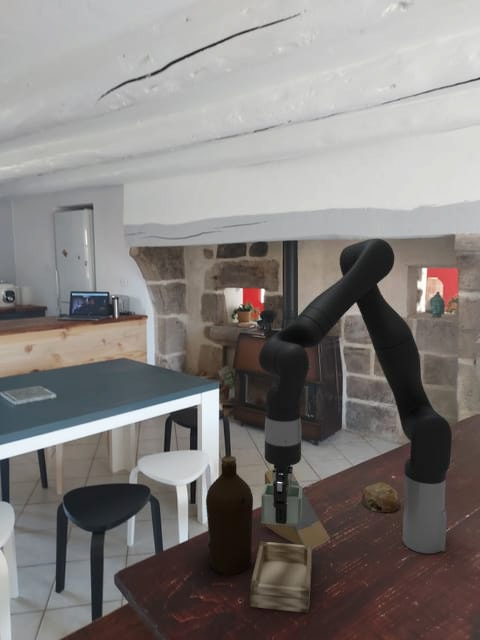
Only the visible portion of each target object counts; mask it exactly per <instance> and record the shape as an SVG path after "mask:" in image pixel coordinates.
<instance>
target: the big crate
mask: <svg viewBox="0 0 480 640" xmlns="http://www.w3.org/2000/svg"><path fill="white" fill-rule="evenodd" d="M312 555H313V550H312V546H307V545H296V544H294V543H284V542H283V543H281V542H280V543H279V542H271V541H260V543H259V547H258V552H257V556H256V561H255V565H254V568H253V573H252V577H251V581H250V585H249V586H250V587H249V589H250V595H249V597H250V607H252V608H259V609H260V608H261V609H267V610H268V609H269V610H277V611H287V612H288V611H289V612H294V613H295V612H296V613H306V614H309V613H310V601H311V600H310V598H311V581H312V569H313V568H312V565H313V564H312V563H313V562H312V561H313V556H312Z"/></svg>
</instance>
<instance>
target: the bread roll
mask: <svg viewBox="0 0 480 640" xmlns="http://www.w3.org/2000/svg"><path fill="white" fill-rule="evenodd" d="M361 499H362V503H363V504H364V506H365V507H366V508H367V509H369V510H370V511H372V512H378V513H393V512H395V511H396V510H397V511H398V509H399V506H400V505H399V504H400V503H399V502H400V500H399V494H398V492H397V490H396V489H395V488H394V487H392V486H391V485H390V484H388V483H387V482H383V481H380V482H375V483H373V484H371V485H369V486H368V485H367V486H366V487H365V488H364V490H363V492H362V496H361Z"/></svg>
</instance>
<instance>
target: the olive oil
mask: <svg viewBox="0 0 480 640" xmlns="http://www.w3.org/2000/svg"><path fill="white" fill-rule="evenodd" d="M220 466H221V473H220V475H219V476H218V477H217V478H216V479H215V480H214V481H213V482H212V484H211V485H210V486H209V487H208V491H207V494H206V497H205V506H206V507H205V509H206V519H207V530H208V531H207V533H208V548H209V563H210V566H211V568H212V569H213V570H214V571H215V572H217V573H219V574H222V575H228V576H230V575H237V574H238V575H239V574H241V573H243V572H244V571H247V570H248V569H249V567H250V566H251V563H252V538H253V537H252V536H253V535H252V533H253V508H254V496H253V495H254V494H253V492H252V489H251V487H250V486H249V484H248V483H247V481H245V480H244V478H242V477H241V476H240V475H238V473H237V458H236V457H235V456H233V455H225V456H222V458H221V465H220Z"/></svg>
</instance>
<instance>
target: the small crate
mask: <svg viewBox="0 0 480 640" xmlns="http://www.w3.org/2000/svg"><path fill="white" fill-rule="evenodd" d="M262 488H263V489H262V493H261V511H260V512H261V515H260V516H261V520H260V521H261V524H265V525H266V524H276V525H287V526H299V527H301V518H302V491H303V486H302V485H300V486H291V485H290V494H289V495H288V496H287V503H288V505H287V521H286V523H285V524H279V523H276V521H275V520H276V508H275V507H274V506H273V503H274V493H273V484H265V483H264V485H263V487H262ZM286 490H287V488H286ZM278 500H283V499H278Z"/></svg>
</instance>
